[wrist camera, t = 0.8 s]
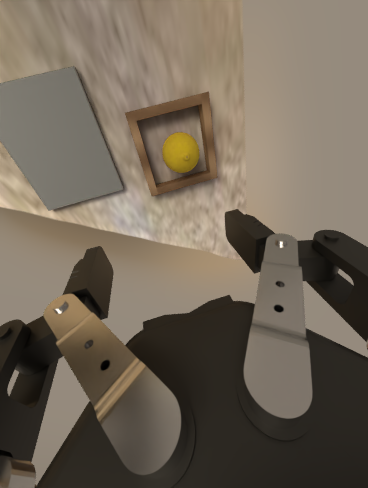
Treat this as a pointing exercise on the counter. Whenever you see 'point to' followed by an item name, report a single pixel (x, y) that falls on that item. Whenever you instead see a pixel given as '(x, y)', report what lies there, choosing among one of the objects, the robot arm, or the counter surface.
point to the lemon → (180, 152)
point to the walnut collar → (207, 136)
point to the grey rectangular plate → (56, 138)
